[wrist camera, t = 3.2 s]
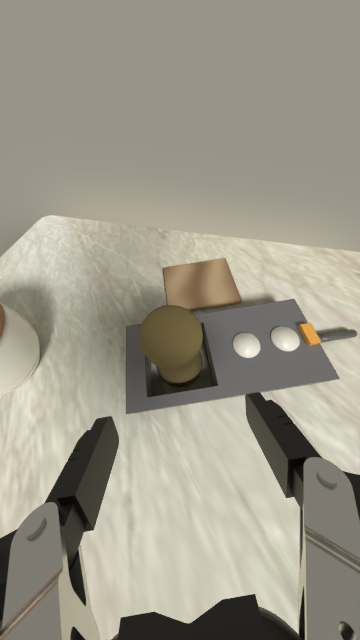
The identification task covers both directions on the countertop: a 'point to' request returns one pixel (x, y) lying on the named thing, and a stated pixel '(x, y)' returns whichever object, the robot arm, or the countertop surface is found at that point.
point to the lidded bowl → (16, 350)
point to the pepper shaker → (173, 344)
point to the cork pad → (201, 285)
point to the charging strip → (240, 356)
